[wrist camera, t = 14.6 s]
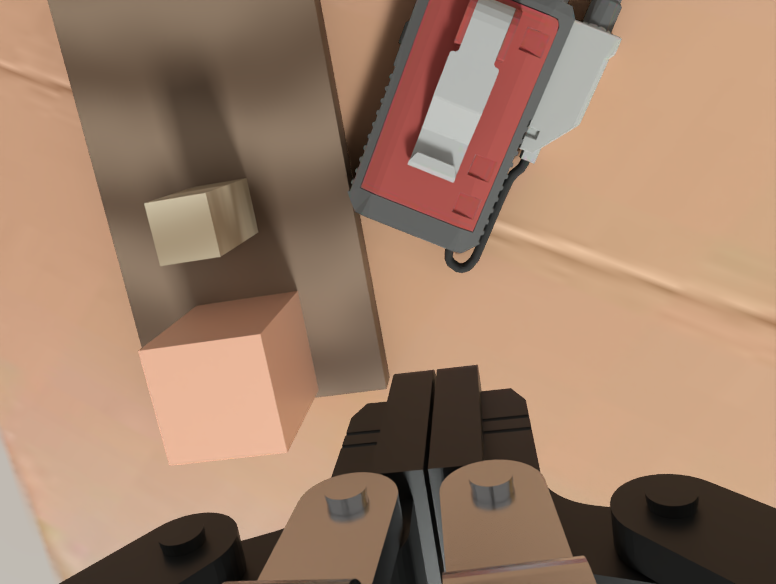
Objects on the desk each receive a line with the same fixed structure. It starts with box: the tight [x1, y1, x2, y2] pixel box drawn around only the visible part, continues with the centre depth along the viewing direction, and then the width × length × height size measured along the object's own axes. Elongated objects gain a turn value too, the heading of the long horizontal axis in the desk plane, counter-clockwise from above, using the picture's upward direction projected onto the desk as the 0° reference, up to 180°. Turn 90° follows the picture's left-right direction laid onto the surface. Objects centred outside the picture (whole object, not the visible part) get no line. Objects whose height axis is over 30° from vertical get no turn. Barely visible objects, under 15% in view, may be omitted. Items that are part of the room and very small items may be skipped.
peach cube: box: [138, 291, 319, 466], centre depth 32 cm, size 5×5×7 cm
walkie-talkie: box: [348, 0, 622, 273], centre depth 30 cm, size 9×4×20 cm
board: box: [48, 0, 390, 398], centre depth 32 cm, size 21×12×7 cm, turn 10°
